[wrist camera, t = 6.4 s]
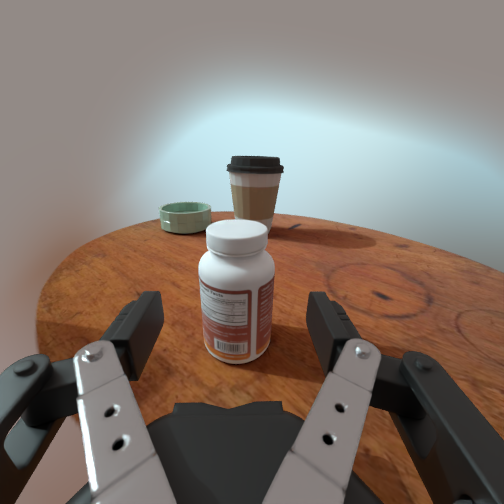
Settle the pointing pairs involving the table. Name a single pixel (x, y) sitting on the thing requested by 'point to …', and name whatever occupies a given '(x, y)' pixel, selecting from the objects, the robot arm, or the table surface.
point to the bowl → (185, 217)
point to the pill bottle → (236, 290)
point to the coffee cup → (255, 187)
